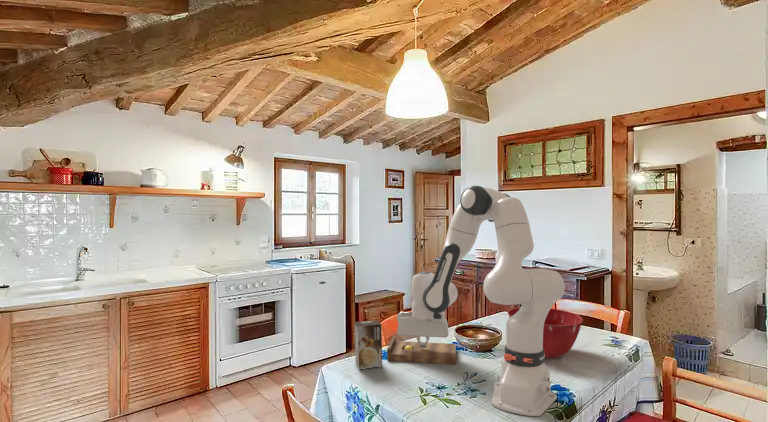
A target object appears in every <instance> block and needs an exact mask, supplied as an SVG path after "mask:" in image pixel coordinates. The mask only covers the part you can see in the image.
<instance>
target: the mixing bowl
mask: <svg viewBox="0 0 768 422" xmlns="http://www.w3.org/2000/svg"><path fill="white" fill-rule="evenodd" d="M519 309H520V307H513V308H511V309H509V310H508V311H507V315H508V319H509V318H510V317H511V316H513V315H514V314H516V313H517V312H518V311H519ZM583 322H584V319H583V318H582V316H580V315H578V314H576V313H573V312H570V311H566V310H562V309H558V308H557V309H556V308H551V309H550V311H549V312H548V314H547V317H546V319H545V323H544V329H543V349H544V353H545V359H550V360H551V359H559V358H561V357H563V356H566V354H568V353H569V352H570V351H571V349H572V348H573V346H574V344H575V343H576V340H577V339H578V338H577V337H578V335H579V333H580V331H581V327H582V324H583Z"/></svg>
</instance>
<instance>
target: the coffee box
mask: <svg viewBox="0 0 768 422" xmlns="http://www.w3.org/2000/svg"><path fill="white" fill-rule="evenodd" d="M382 335H383V334H382V323H381V322H380V321H378V320H363V321H354V346H355V347H354V350H355V353H354V354H355V356H354V357H355V361H354V362H355V366H356V365H357V366H356V368H357V367H358V368H359V369H362V368H371V367H379V368H383V343H382V341H383V338H382ZM358 368H357V369H358ZM359 369H358V370H359ZM371 369H372V368H371Z"/></svg>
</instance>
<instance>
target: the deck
mask: <svg viewBox="0 0 768 422" xmlns="http://www.w3.org/2000/svg"><path fill="white" fill-rule="evenodd" d="M408 345H410V346H411V347H412V348H413V350H404V349H405V347H406V346H408ZM456 345H457V344H456V343H443V342H442V343H440V342H428V343H427V348H420V347H419V342H418V341H407V340H406V341H402V340H397V338H396V336H395V335H393V336H392V338H391V340H390V342H389V344H388V347H387V349H386V351H387V353H386V357H387V359H386V360H395V361H394V362H408V363H423V364H424V363H427V364H439V365H440V364H443V365H444V364H445V365H456V363H457V361H456V359H457V354H456V353H457V352H456V351H457V350H456V347H457V346H456Z"/></svg>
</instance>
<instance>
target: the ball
mask: <svg viewBox="0 0 768 422" xmlns="http://www.w3.org/2000/svg"><path fill="white" fill-rule="evenodd" d="M404 350H413V348H412V347H411V346H410V345H408V346H406V347H405V349H404Z"/></svg>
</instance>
